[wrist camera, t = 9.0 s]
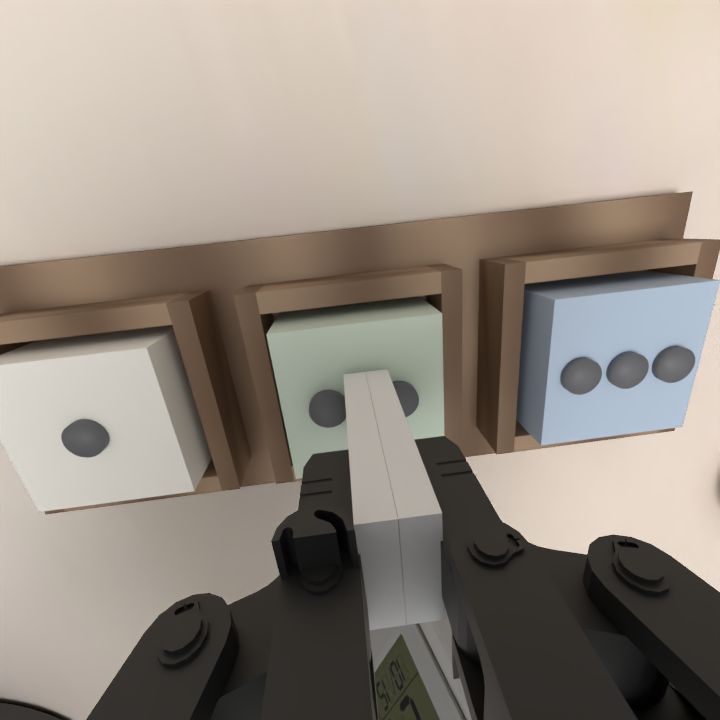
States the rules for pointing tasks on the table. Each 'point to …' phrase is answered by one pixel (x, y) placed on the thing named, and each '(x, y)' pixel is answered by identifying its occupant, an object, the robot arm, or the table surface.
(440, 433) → the tile two
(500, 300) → the button board
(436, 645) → the digital clock
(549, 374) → the tile three
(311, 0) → the table surface
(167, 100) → the table surface
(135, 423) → the tile one
